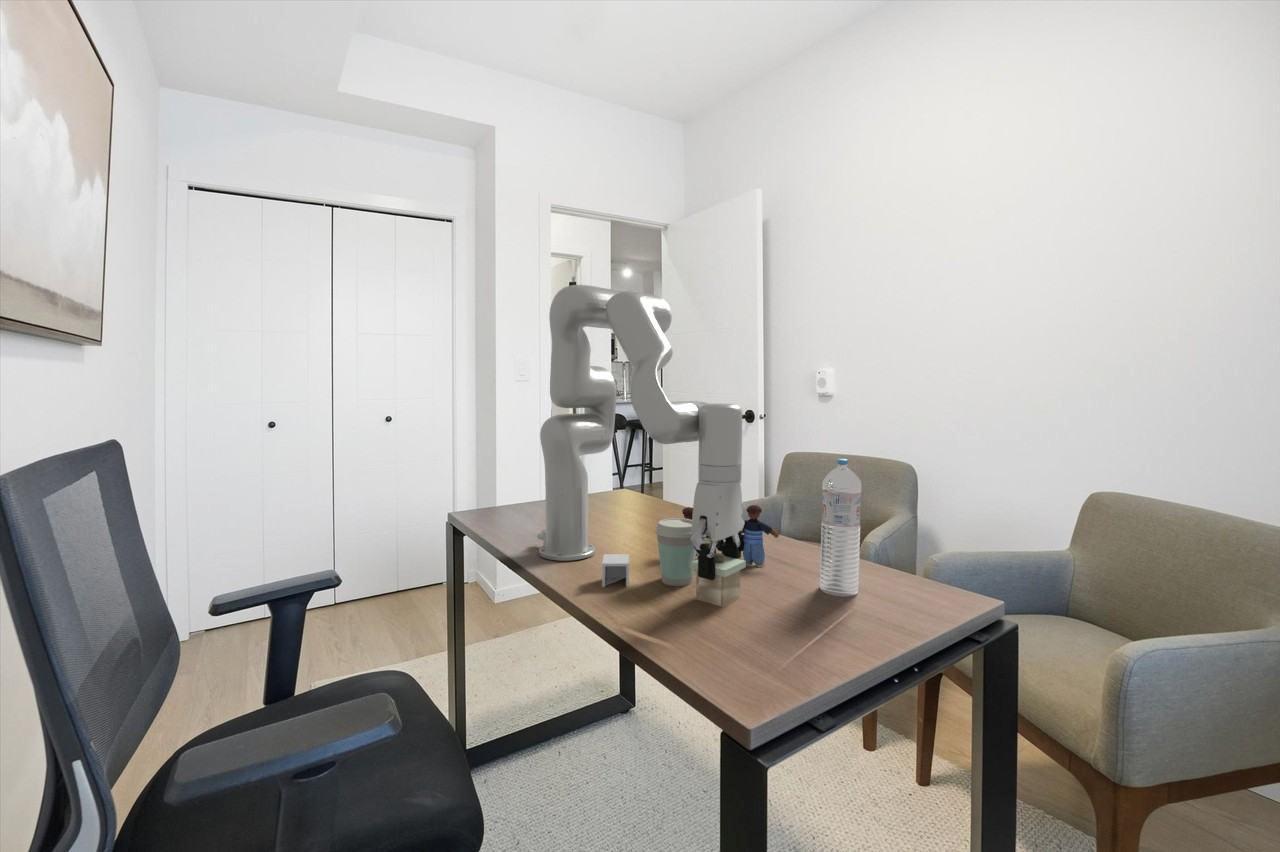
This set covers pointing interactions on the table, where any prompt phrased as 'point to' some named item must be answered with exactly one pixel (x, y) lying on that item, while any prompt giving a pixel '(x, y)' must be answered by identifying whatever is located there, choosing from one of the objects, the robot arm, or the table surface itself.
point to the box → (718, 589)
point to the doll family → (746, 537)
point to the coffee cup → (676, 551)
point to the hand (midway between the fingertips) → (718, 572)
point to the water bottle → (840, 532)
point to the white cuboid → (615, 568)
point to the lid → (724, 565)
